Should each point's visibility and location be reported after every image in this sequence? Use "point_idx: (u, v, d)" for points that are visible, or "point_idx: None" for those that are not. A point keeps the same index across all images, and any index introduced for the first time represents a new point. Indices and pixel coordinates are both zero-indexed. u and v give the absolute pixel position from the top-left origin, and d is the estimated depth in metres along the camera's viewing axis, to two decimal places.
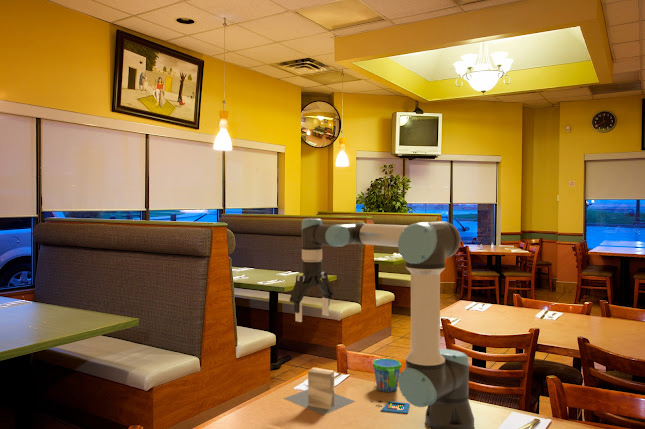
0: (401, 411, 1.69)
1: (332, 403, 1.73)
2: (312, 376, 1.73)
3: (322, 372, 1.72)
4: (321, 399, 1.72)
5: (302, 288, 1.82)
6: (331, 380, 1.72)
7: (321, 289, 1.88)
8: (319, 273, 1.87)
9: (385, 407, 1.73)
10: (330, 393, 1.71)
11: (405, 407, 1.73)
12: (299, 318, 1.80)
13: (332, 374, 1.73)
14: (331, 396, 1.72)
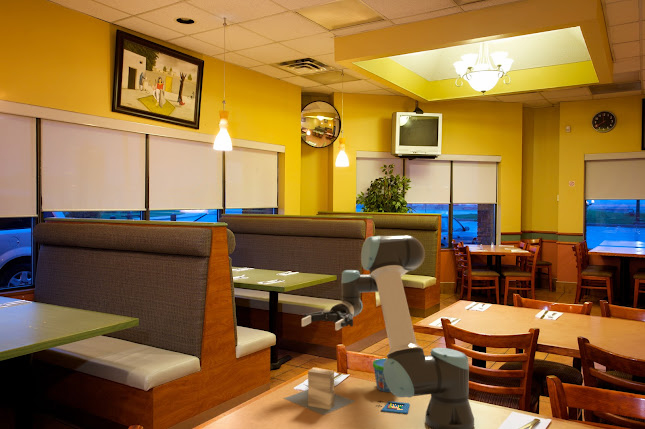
0: (401, 411, 1.69)
1: (332, 403, 1.73)
2: (312, 376, 1.73)
3: (322, 372, 1.72)
4: (321, 399, 1.72)
5: None
6: (331, 380, 1.72)
7: (341, 319, 1.91)
8: (343, 313, 1.97)
9: (385, 407, 1.73)
10: (330, 393, 1.71)
11: (405, 407, 1.73)
12: None
13: (332, 374, 1.73)
14: (331, 396, 1.72)
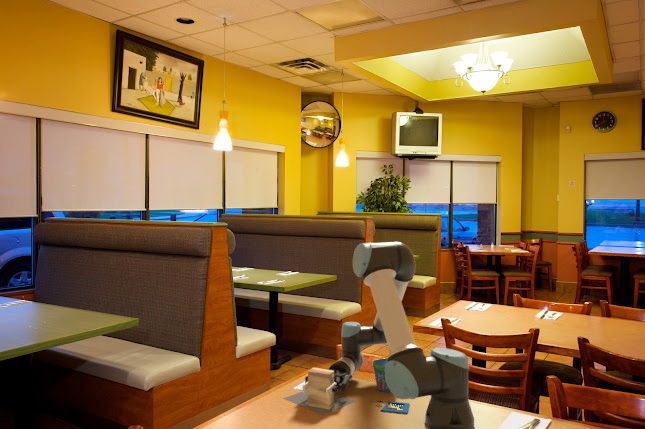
0: (401, 411, 1.69)
1: (332, 403, 1.73)
2: (312, 376, 1.73)
3: (322, 372, 1.72)
4: (321, 399, 1.72)
5: None
6: (331, 380, 1.72)
7: None
8: (343, 372, 1.85)
9: (385, 407, 1.73)
10: None
11: (405, 407, 1.73)
12: None
13: (332, 374, 1.73)
14: (331, 396, 1.72)
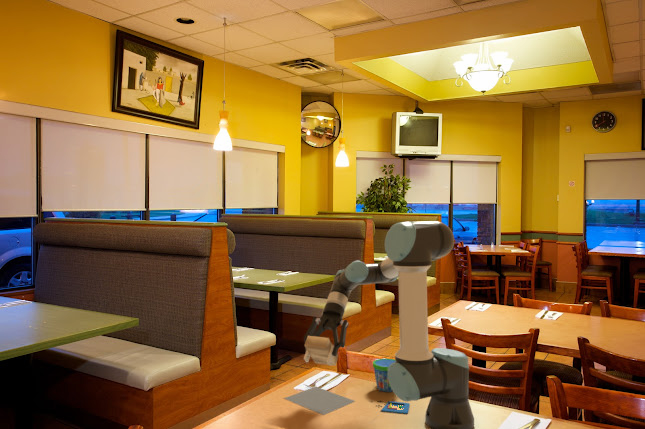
0: (401, 411, 1.69)
1: (336, 357, 1.80)
2: (310, 348, 1.75)
3: (318, 345, 1.73)
4: (324, 360, 1.79)
5: None
6: (329, 347, 1.74)
7: None
8: (338, 317, 1.84)
9: (385, 407, 1.73)
10: None
11: (405, 407, 1.73)
12: None
13: (328, 342, 1.74)
14: None
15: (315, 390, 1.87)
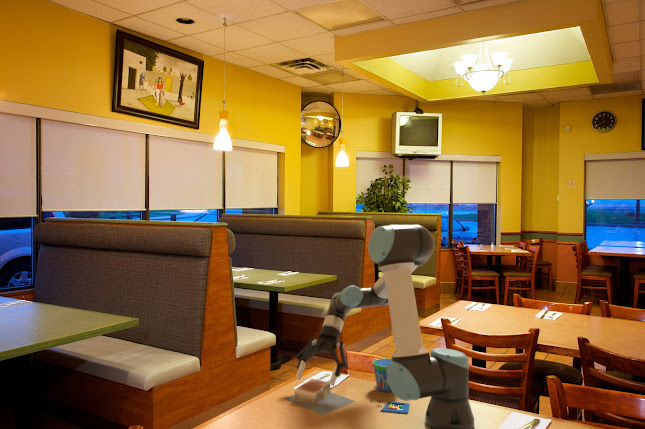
0: (401, 411, 1.69)
1: (328, 387, 1.84)
2: None
3: (307, 400, 1.76)
4: None
5: None
6: (318, 397, 1.77)
7: (333, 356, 1.86)
8: (333, 340, 1.90)
9: (385, 407, 1.73)
10: (323, 395, 1.80)
11: (405, 407, 1.73)
12: None
13: (315, 396, 1.75)
14: (325, 391, 1.82)
15: None
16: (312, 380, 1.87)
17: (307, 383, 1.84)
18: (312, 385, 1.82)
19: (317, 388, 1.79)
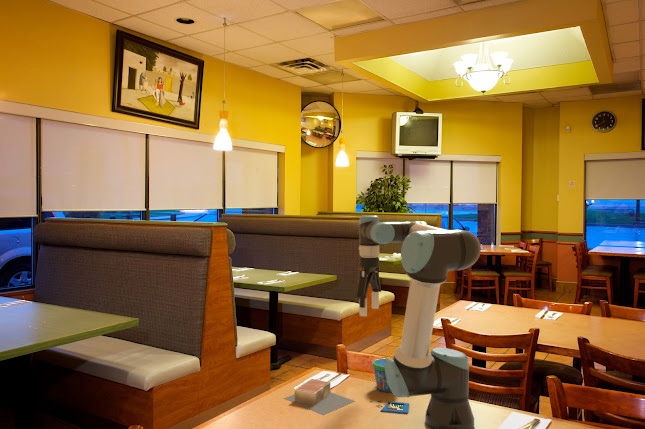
0: (401, 411, 1.69)
1: (328, 387, 1.84)
2: None
3: (307, 400, 1.76)
4: None
5: None
6: (318, 397, 1.77)
7: (373, 283, 1.95)
8: (374, 268, 1.93)
9: (385, 407, 1.72)
10: (323, 395, 1.80)
11: (405, 407, 1.73)
12: (364, 313, 1.85)
13: (315, 396, 1.75)
14: (325, 391, 1.82)
15: None
16: (312, 380, 1.87)
17: (307, 383, 1.84)
18: (312, 385, 1.82)
19: (317, 388, 1.79)
